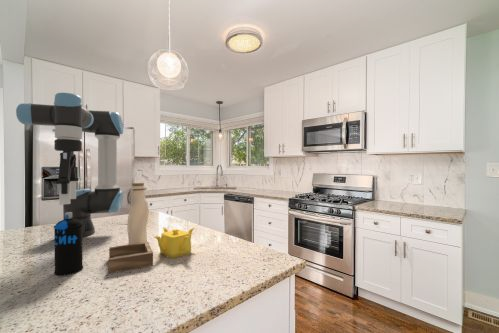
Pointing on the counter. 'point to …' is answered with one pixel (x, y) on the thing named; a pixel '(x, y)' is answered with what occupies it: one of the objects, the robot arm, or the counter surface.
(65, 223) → the aerosol can
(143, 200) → the water bottle
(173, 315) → the counter surface
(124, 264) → the u rest
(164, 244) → the teapot
